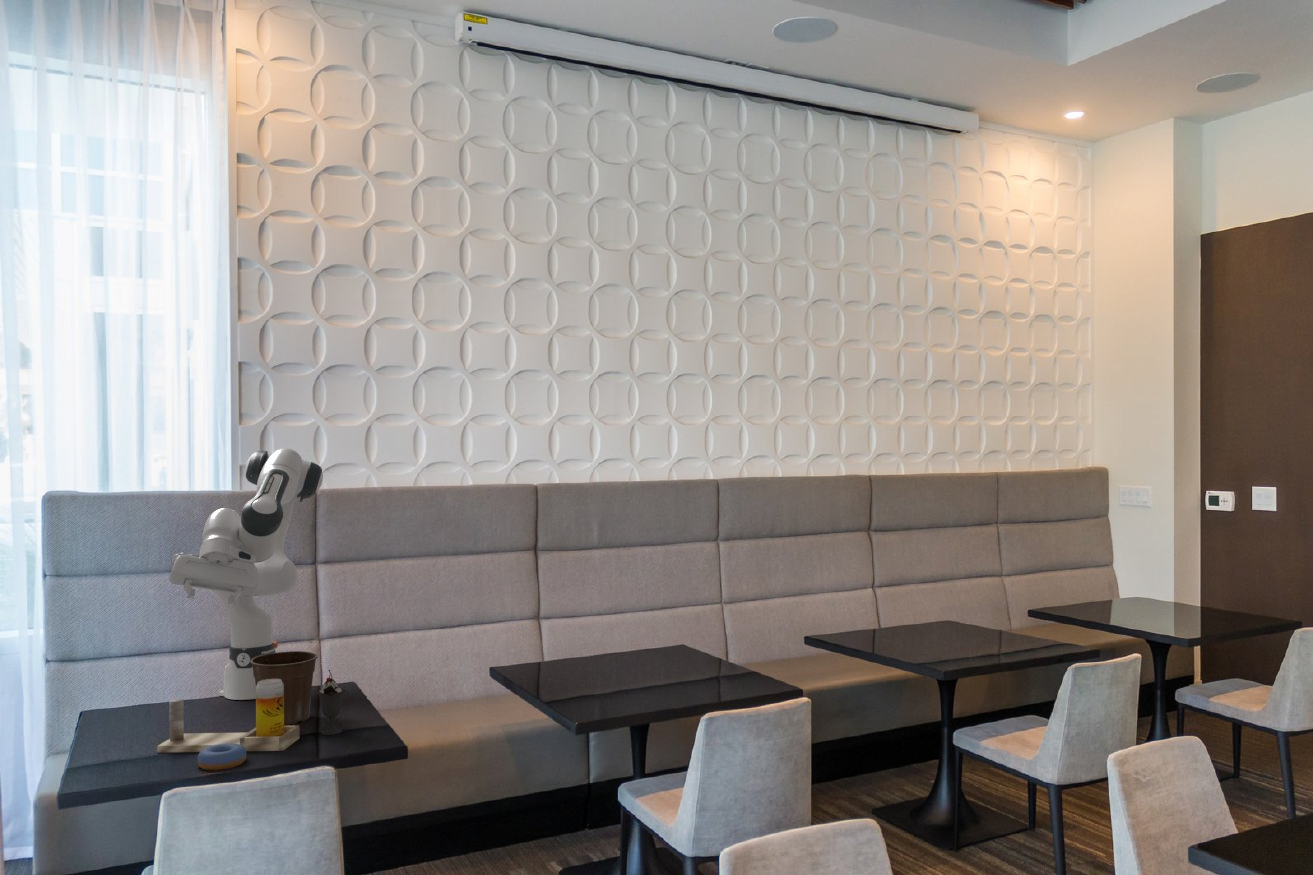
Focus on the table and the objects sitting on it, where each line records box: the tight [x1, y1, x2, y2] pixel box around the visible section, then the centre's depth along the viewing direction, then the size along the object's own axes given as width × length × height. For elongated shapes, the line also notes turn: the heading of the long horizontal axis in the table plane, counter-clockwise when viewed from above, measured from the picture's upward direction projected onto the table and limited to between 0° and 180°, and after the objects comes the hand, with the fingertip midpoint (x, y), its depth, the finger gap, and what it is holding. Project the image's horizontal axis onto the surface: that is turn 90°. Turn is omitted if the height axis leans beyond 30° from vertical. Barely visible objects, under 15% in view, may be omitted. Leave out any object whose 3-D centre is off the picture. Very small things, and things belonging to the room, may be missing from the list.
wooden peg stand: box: [156, 698, 300, 753], centre depth 231 cm, size 29×10×10 cm, turn 90°
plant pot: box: [250, 650, 318, 726], centre depth 253 cm, size 16×16×16 cm
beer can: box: [255, 679, 285, 737], centre depth 231 cm, size 6×6×15 cm
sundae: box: [316, 669, 346, 736], centre depth 241 cm, size 7×7×15 cm
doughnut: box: [197, 743, 247, 771], centre depth 217 cm, size 10×10×5 cm
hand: (211, 599), depth 241 cm, fingers open, 8 cm apart
